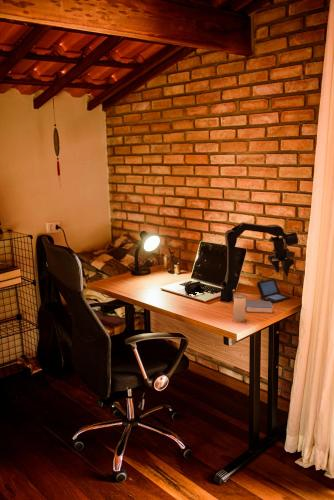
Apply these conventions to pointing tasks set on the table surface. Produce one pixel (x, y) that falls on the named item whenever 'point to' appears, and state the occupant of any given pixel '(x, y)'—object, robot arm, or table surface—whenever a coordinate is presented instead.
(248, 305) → the gray book
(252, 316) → the table surface
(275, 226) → the robot arm
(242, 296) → the pen cup
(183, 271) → the table surface
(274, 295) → the handheld game console
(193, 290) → the end cap
